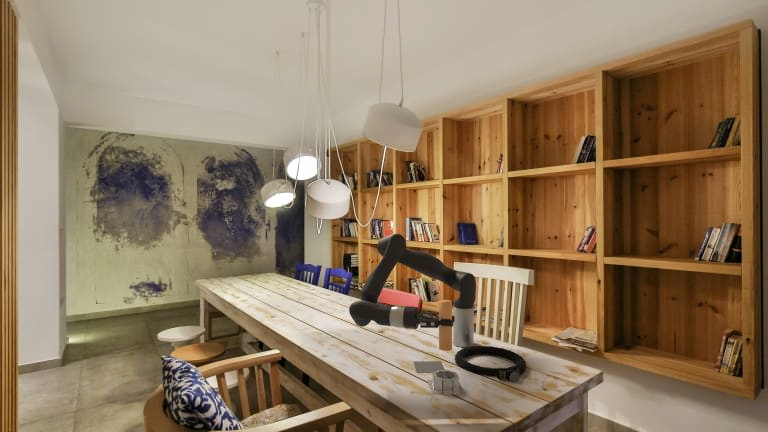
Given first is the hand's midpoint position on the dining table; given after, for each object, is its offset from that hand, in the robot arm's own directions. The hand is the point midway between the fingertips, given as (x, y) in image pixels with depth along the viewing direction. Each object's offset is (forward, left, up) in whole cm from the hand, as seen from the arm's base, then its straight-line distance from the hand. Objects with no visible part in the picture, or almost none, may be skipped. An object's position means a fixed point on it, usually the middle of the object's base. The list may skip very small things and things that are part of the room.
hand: (453, 321), depth 126 cm
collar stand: (-1, -3, -23) cm, 24 cm away
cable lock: (-21, +19, -24) cm, 37 cm away
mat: (-18, -6, -23) cm, 30 cm away
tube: (-1, -3, -9) cm, 10 cm away
